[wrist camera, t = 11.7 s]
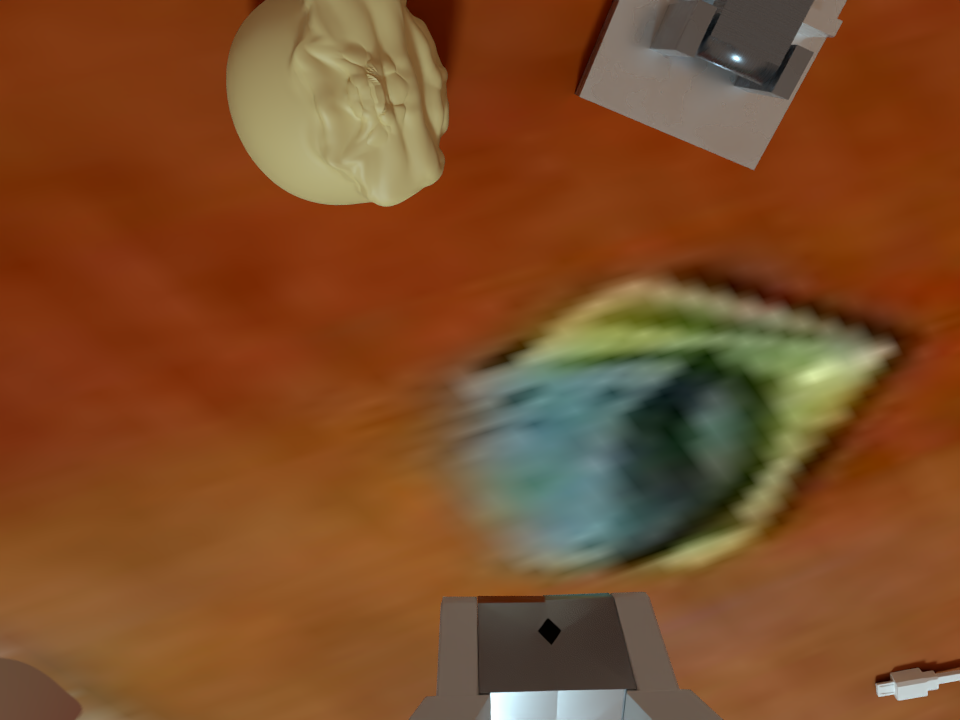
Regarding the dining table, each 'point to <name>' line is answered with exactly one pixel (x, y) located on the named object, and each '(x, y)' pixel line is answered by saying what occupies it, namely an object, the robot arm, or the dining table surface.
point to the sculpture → (339, 99)
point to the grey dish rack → (695, 75)
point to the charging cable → (914, 683)
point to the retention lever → (752, 35)
